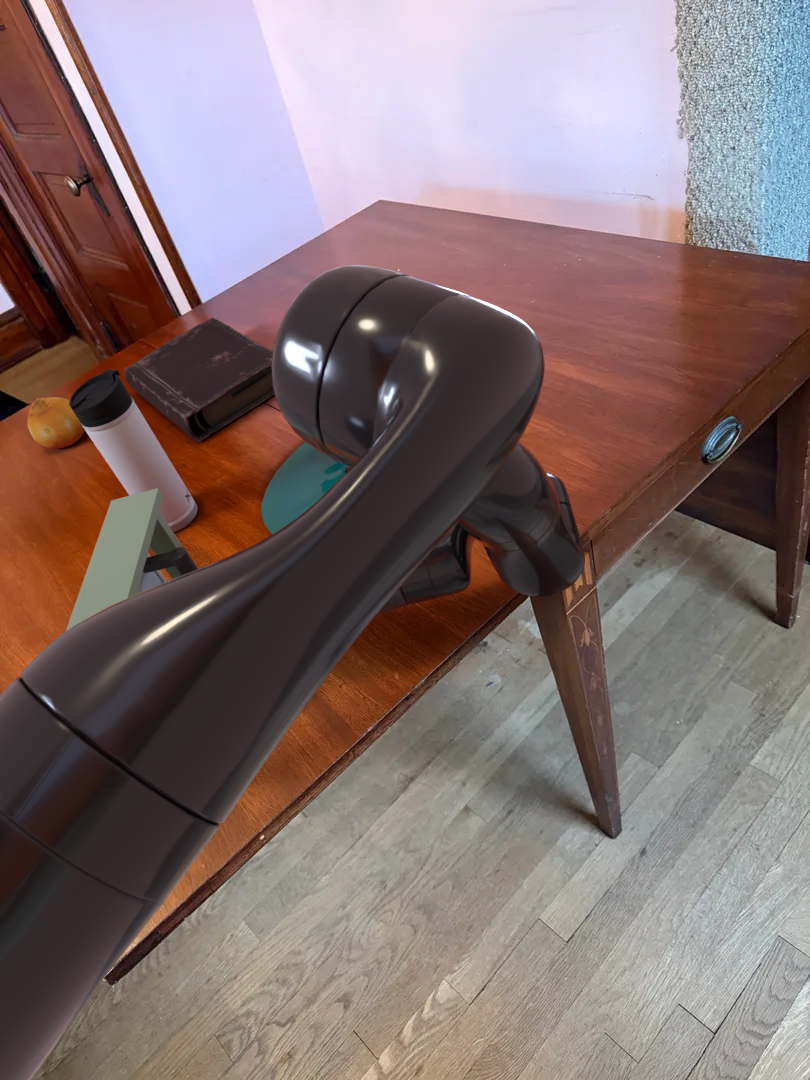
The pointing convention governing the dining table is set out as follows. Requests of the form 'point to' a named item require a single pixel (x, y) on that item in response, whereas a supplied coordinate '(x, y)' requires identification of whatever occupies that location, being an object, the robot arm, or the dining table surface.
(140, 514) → the window frame
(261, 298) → the dining table surface
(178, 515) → the travel mug
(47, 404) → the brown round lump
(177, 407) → the diary
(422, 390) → the robot arm
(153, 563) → the sash
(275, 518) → the boat on round base
